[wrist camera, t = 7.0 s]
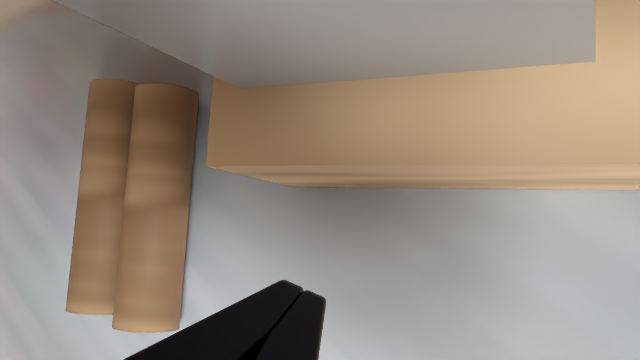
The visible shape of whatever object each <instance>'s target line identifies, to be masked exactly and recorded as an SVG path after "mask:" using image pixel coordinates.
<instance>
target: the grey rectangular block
mask: <svg viewBox="0 0 640 360" xmlns="http://www.w3.org/2000/svg"><path fill="white" fill-rule="evenodd" d="M53 1H55V2H57V3H60V4H62V5H64V6H66V7H68V8H70V9H72V10H74V11H77V12H79V13H81V14H83V15H85V16H87V17H89V18H91V19H93V20H96V21H98V22H100V23H102V24H104V25H106V26H108V27H110V28H113V29H115V30H117V31H119V32H121V33H123V34H125V35H127V36H129V37H132V38H134V39H136V40H138V41H140V42H142V43H144V44H146V45H149V46H151V47H153V48H155V49H157V50H159V51H161V52H163V53H165V54H168V55H170V56H172V57H174V58H176V59H178V60H180V61H182V62H185V63H187V64H189V65H191V66H193V67H195V68H197V69H199V70H202V71H204V72H206V73H208V74H210V75H212V76H214V77H216V78H218V79H221V80H223V81H225V82H227V83H229V84H231V85H233V86H235V87H238V88H240V89H249V88H262V87H275V86H287V85H300V84H313V83H326V82H339V81H352V80H365V79H378V78H391V77H403V76H416V75H429V74H442V73H455V72H468V71H481V70H494V69H506V68H519V67H532V66H545V65H558V64H571V63H584V62H596V0H53Z"/></svg>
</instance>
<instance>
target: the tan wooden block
mask: <svg viewBox="0 0 640 360" xmlns="http://www.w3.org/2000/svg"><path fill="white" fill-rule="evenodd" d="M206 167H210V168H214V169H219V170H223V171H227V172H231V173H235V174H240V175H244V176H248V177H252V178H257V179H261V180H265V181H269V182H274V183H278V184H282V185H286V186H290V187H385V188H485V189H585V190H637V189H638V187H639V185H640V0H596V62H584V63H571V64H558V65H545V66H532V67H519V68H506V69H494V70H481V71H468V72H455V73H442V74H429V75H416V76H403V77H391V78H378V79H365V80H352V81H339V82H326V83H313V84H300V85H287V86H275V87H262V88H249V89H240V88H238V87H235V86H233V85H231V84H229V83H227V82H225V81H223V80H221V79H218V78H216V77H214V76H213V81H212V93H211V106H210V118H209V130H208V142H207V155H206Z"/></svg>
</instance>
